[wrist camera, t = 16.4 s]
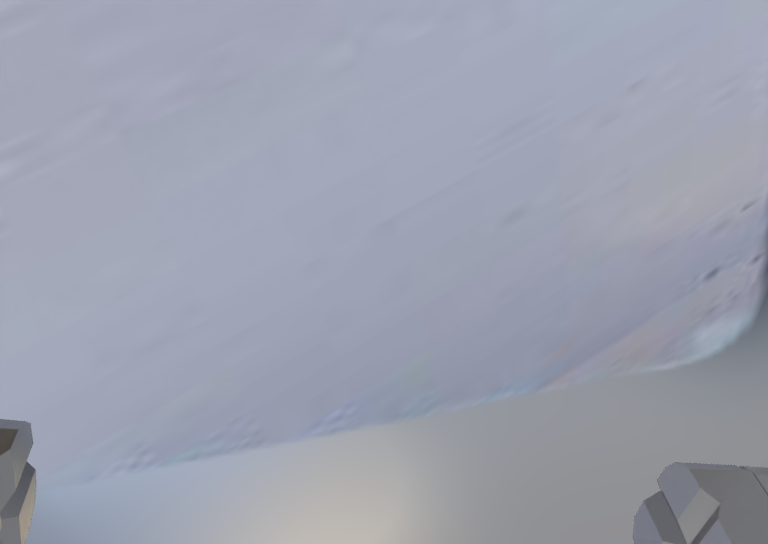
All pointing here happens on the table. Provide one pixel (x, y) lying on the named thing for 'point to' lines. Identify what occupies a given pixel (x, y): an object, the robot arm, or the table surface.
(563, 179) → the table surface
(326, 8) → the table surface
